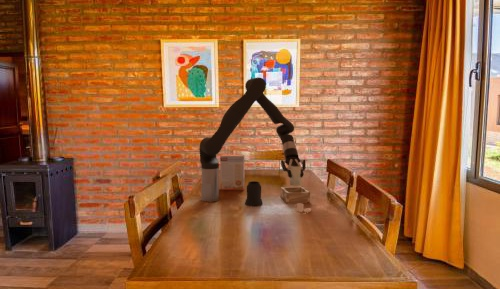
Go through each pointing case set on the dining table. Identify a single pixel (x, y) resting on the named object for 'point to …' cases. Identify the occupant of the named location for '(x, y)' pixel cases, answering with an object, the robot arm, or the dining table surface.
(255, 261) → the dining table surface
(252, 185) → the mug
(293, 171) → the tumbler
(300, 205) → the teacup and saucer
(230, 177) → the cracker box
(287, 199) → the crate
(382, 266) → the dining table surface
